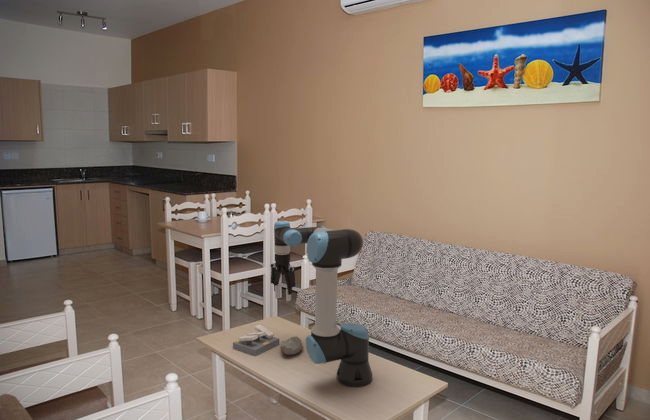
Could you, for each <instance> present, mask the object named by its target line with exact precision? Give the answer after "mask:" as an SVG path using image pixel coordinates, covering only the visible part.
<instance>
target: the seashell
mask: <svg viewBox="0 0 650 420" xmlns="http://www.w3.org/2000/svg"><path fill="white" fill-rule="evenodd" d="M303 349H304V344H303V343H302V340H301V339H300V337H298V336H292V337H290V338H288V339H286V340H284V341H281V343H280V350H281V351H282V353H284V354H285V355H287V356H289V355H290V356H293V355H295V354H298V353H299V352H301V350H303Z"/></svg>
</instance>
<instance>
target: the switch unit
mask: <svg viewBox="0 0 650 420" xmlns="http://www.w3.org/2000/svg"><path fill="white" fill-rule="evenodd" d="M279 345H280V337H275V336H273V337H271V338H267V337H266V336H261V337H258V338H257V339H255V340H251V341H238V339H237V340H236V341H233V342H232V349H233V348H234V349H233V350H236V349H237V350H236V351H240V352H242V353H245V354H248V355H251V356H254V357H257V356H258V355H261V354H262V353H265V352H267V351H269V350H271V349H274V348H275V347H276V346H279Z"/></svg>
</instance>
